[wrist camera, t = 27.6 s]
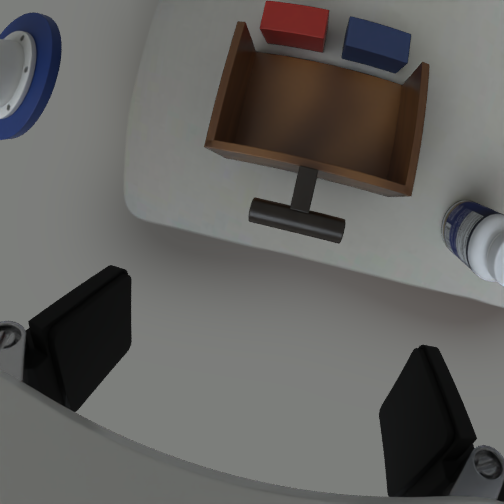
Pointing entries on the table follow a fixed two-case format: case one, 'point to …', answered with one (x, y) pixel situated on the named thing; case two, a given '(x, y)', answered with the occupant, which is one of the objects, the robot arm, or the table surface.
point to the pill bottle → (476, 238)
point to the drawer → (316, 129)
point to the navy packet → (376, 45)
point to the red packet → (295, 25)
